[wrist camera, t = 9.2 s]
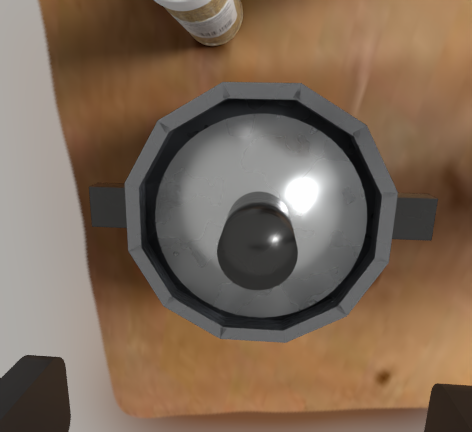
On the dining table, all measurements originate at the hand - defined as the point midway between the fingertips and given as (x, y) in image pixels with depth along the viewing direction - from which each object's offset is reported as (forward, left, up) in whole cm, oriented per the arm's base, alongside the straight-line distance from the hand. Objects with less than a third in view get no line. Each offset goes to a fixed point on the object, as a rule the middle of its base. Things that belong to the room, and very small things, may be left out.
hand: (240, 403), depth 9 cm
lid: (0, 0, -15) cm, 15 cm away
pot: (0, 0, -25) cm, 25 cm away
